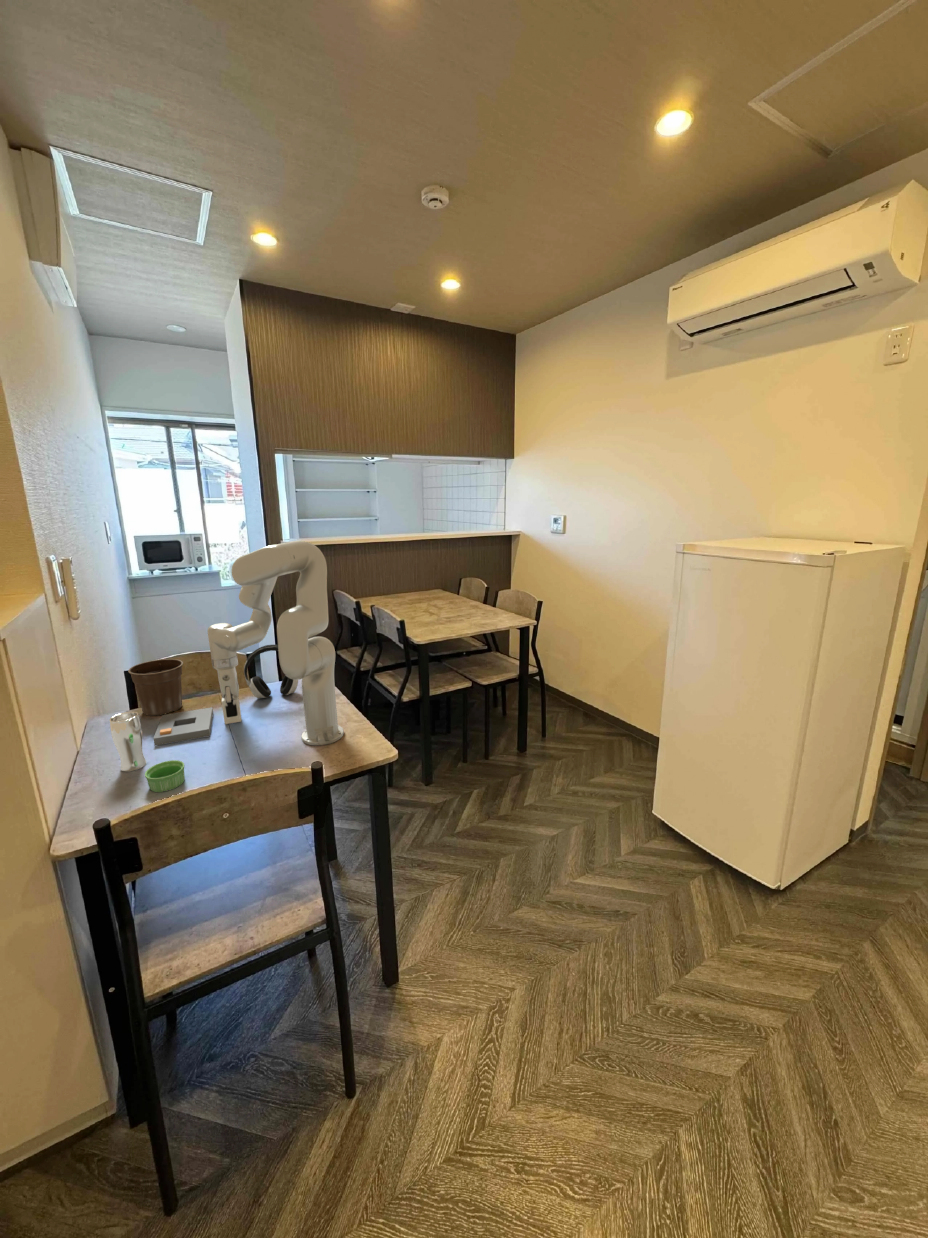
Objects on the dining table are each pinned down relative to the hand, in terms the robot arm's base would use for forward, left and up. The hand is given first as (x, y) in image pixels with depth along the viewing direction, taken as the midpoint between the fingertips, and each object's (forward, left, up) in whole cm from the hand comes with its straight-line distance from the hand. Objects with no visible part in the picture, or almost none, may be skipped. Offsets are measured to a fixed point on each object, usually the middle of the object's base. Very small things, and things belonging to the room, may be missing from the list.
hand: (232, 713), depth 166 cm
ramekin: (-34, +15, -3) cm, 37 cm away
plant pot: (+21, +23, -3) cm, 31 cm away
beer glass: (-20, +25, -3) cm, 32 cm away
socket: (0, +14, -3) cm, 14 cm away
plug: (0, 0, -3) cm, 3 cm away
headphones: (+16, -14, -3) cm, 22 cm away
